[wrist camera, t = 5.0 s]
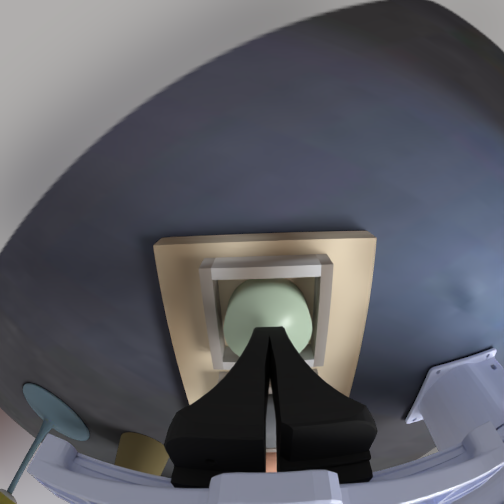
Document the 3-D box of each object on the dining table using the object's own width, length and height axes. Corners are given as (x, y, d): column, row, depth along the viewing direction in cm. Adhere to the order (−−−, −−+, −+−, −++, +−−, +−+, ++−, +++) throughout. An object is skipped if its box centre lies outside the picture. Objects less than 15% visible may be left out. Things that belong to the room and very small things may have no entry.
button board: (367, 230, 15) (387, 246, 12) (325, 453, 23) (328, 474, 20) (161, 237, 16) (142, 254, 13) (212, 456, 24) (209, 478, 21)
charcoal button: (302, 389, 16) (305, 411, 14) (298, 425, 18) (300, 446, 16) (234, 391, 17) (232, 414, 15) (239, 427, 18) (238, 447, 16)
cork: (110, 431, 23) (79, 504, 13) (151, 432, 23) (123, 518, 12) (139, 458, 25) (117, 525, 15) (179, 459, 24) (162, 536, 14)
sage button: (308, 273, 14) (314, 290, 13) (304, 340, 16) (309, 362, 14) (224, 276, 15) (219, 293, 13) (231, 343, 16) (227, 364, 14)
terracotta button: (294, 441, 20) (296, 459, 18) (291, 461, 21) (292, 478, 19) (243, 442, 20) (242, 460, 18) (246, 463, 21) (245, 479, 19)
